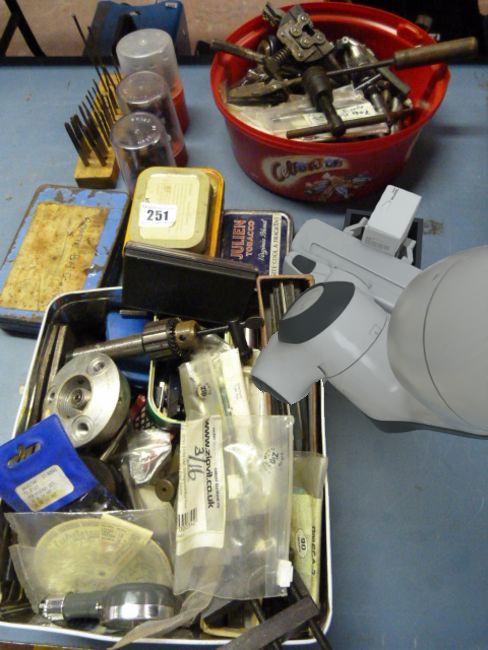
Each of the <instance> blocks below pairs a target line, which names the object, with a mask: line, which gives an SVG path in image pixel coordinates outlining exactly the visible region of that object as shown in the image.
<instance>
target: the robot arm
mask: <svg viewBox="0 0 488 650" xmlns="http://www.w3.org/2000/svg"><path fill="white" fill-rule="evenodd" d="M368 221H369V219H367V218H365V217H363V218H362V220H361V221H360V222H359V224H355V225H352V226H349V227H346V228H345V229H344V230H343V229H342V230H341V229H338V228H337V227H335V226H332V225H330V224H328V223H326V222H324V221H322V220H321V219H318V218H309V219H307V220H305V221H304V222H303V223H302V225H301V227H300V228H299V229H298V230H297V232H296V234H295V236H294V237H293V239H292V241H291V246H290V251H289V252H288V253H287V254H286V255H285V257H284V259H283V262H282V273H281V274H282V275H296V274H311V275H313V276H314V279H315V285H312V286H311V287H309V288H307V289H306V290H305V291H304V292H302V293H301V294H300V295H299V296H298V297H297V298H296V299H295V298H294V301H293V302H292V303H291V304H290V305H289V307H288V308H287V310H286V311H285V312H284V313H283V315H282V316H281V317H280V318H279V320H278V325H279V326H278V325H277V326H278V331H277V332H276V333H275V334H273V335H272V336H271V335H270V336H271V338H270V339H269V338H268V339H269V341H268V344H267V346H266V348H263V347H262V348H261V350H260V352H259V354H258V356H257V357H256V359H255V361H254V363H253V364H252V367H251V368H250V372H249V377H250V379H251V382H252V384H253V385H254V387H255V388H256V389H257V388H258V389H259V390H260V391H262V392H263V393H264V392H268V393H269V394H271V395H272V396H273V397H275V398H276V399H277V400H279V401H281V402H283V403H285V404H291V405H292V404H294V403H296V402H297V401H300V400H301V399H303V398H304V397H306V396H307V395H308V393H309V391H310V389H311V387H312V386H313V384H314V383H315V382H318V381H319V380H320V379H322V382H323V386H324V385H325V384H326V383H327V382H328V383H330V384H331V385H332V387H334V388H335V389H336V390H337V391H339V392H340V393H341V394H342V395H343V396H344V397H346V399H348V400H349V401H350V402H351V403H352V404H353V405H354V406H356V408H358V409H359V410H360V411H361V413H362V414H363V415H364V416H365V417H366V418H367V420H369V421H370V422H371V424H373V426H375V428H377V429H378V430H379V431H380V432H383V433H385V434H405V433H406V434H407V433H410V432H415V431H430V432H436V433H441V434H445V435H451V436H457V437H462V438H467V439H473V440H481V441H488V243H487V244H482V245H478V246H476V247H475V246H474V247H470V248H467V249H463V250H460V251H457V252H454V253H452V254H449V255H447V256H445V257H443V258H441V259H439V260H437V261H435V262H433V263H432V264H430V265H429V266H428V267H426V268H424V269H423V270H422V269H421V270H420V269H418V268H416V267H414V266H412V265H411V264H412V262H413V255H412V250H413V248H414V246H415V244H416V241H414V240H412V239H410V238H408V237H406V238H405V240H404V241H403V243H402V244H401V247H400V250H399V253H401V254H403V255H404V256H403V258H402V259H401V260H400V259H398V258H396V257H394V256H392V255H389V254H387V253H384V252H382V251H379V250H376V249H374V248H371V247H369V246H366V245H364V244H362V243H361V240H359V239H357V238H355V236H358V235H360V234H361V235H363V233H364V229H365V226H366V225H367V223H368ZM342 231H343V232H342ZM258 389H257V390H258ZM259 390H258V391H259ZM260 391H259V392H260ZM262 392H261V393H262ZM263 393H262V394H263Z"/></svg>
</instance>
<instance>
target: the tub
mask: <svg viewBox="0 0 488 650" xmlns="http://www.w3.org/2000/svg"><path fill="white" fill-rule="evenodd" d="M373 212H374V211H367V210H361V209H352V208H346V211H345V215H344V216H345V217H344V222H343V226H342V230H341V231H342V232H343V230H344V229H345V228H346V227H349V226H352V225H355V224H359V222H360V221H361V220H362V218H363V217H365V218H367V219H370V217H371V215H372V213H373ZM423 234H424V218H422V217H414V219H413V222H412V224H411V227H410V230H409V232H408V235H407V237H408V238H410V239H412V240H414V241H416V244H415V246H414V248H413V250H412V255H413V262H412V264H411V265H412V266H414V267H416V268H418V269H420V270H422V269H421V268H422V254H423V253H422V251H423V236H424V235H423ZM362 237H363V235H361V234H360V235H358V236H355V238H357V239H359V240H361V241H362ZM403 256H404V255H403V254H401V253H399V255H398V259H400V260H401V259H402V258H403Z"/></svg>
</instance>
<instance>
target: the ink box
mask: <svg viewBox="0 0 488 650" xmlns="http://www.w3.org/2000/svg"><path fill="white" fill-rule="evenodd" d="M422 198H423V197H422V195H419V194H416V193H414V192H411V191H408V190H406V189H403V188H400V187H397V186H394V185H392V184H388V185H387V186H386V188H385V189H384V191H383V193H382V194H381V197H380V199H379V201H378V202H377V204H376V205H375V207H374V209H373V211H372V212H373V213H372V215H371V217H370V219H369V221H368V223H367V225H366V226H365V229H364V233H363V237H362V241H361V243H362V244H364V245H366V246H369V247H371V248H374V249H376V250H379V251H382V252H384V253H387V254H389V255H392V256H394V257H396V258H398V255H399V250H400V247H401V244H402V243H403V241H404V240H405V238H406V237H407V235H408V232H409V230H410V227H411V224H412V222H413V219H414V218H416V217H415V216H416V215H417V211H418V209H419V206H420V203H421V201H422Z"/></svg>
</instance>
